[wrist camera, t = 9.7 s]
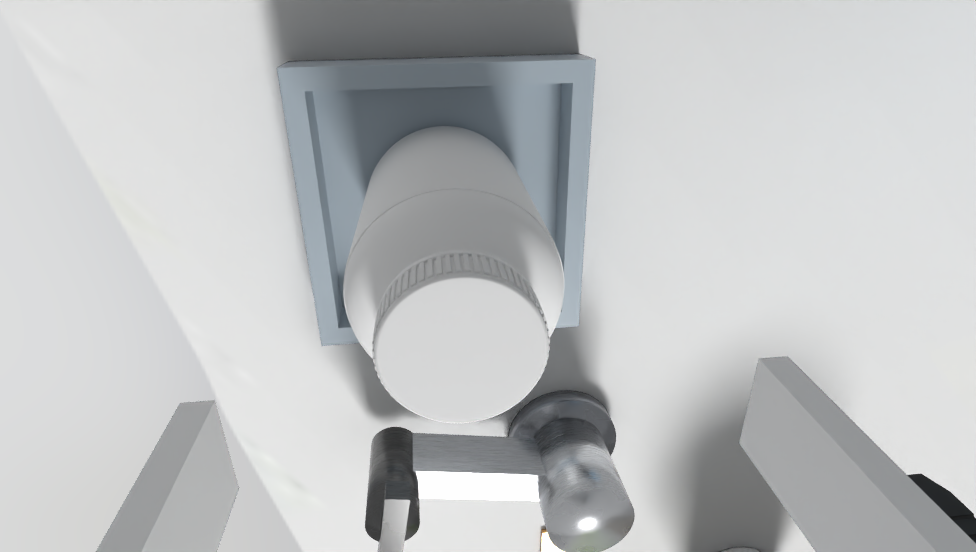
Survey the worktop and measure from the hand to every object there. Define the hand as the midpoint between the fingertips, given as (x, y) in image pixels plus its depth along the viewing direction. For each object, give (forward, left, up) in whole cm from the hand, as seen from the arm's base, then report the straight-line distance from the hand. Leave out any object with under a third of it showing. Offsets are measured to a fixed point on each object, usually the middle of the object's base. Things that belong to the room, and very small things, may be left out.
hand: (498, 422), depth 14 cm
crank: (+16, +2, -17) cm, 24 cm away
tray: (0, 0, -19) cm, 19 cm away
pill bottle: (0, 0, -18) cm, 18 cm away
